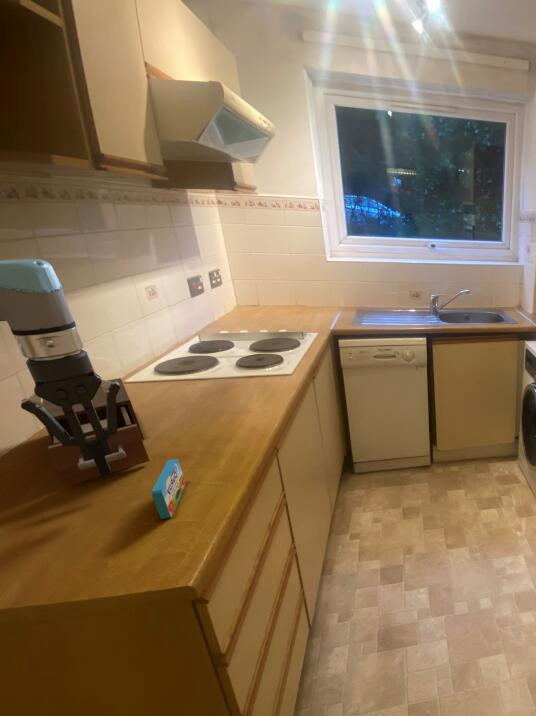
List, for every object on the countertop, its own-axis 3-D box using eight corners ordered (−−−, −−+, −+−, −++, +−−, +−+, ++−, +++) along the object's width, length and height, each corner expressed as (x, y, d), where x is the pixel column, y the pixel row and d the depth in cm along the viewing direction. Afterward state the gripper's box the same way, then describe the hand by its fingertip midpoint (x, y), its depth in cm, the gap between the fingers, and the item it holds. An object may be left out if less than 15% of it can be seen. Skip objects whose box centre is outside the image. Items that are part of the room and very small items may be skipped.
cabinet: (144, 439, 107) (130, 399, 103) (61, 462, 97) (42, 419, 93) (133, 413, 120) (120, 377, 116) (59, 431, 110) (42, 393, 106)
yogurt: (171, 518, 80) (161, 490, 78) (161, 520, 80) (151, 492, 77) (185, 483, 90) (177, 457, 88) (177, 484, 90) (168, 459, 87)
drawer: (153, 471, 92) (140, 435, 89) (66, 499, 83) (47, 460, 80) (138, 432, 108) (126, 399, 105) (63, 451, 99) (47, 417, 96)
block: (91, 462, 93) (78, 434, 91) (89, 453, 97) (77, 425, 94) (121, 454, 97) (110, 426, 94) (118, 445, 100) (108, 418, 97)
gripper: (-3, 368, 67) (58, 494, 76) (108, 350, 75) (151, 465, 84) (0, 357, 72) (57, 476, 81) (104, 341, 80) (145, 451, 89)
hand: (105, 471), depth 83 cm, fingers closed
